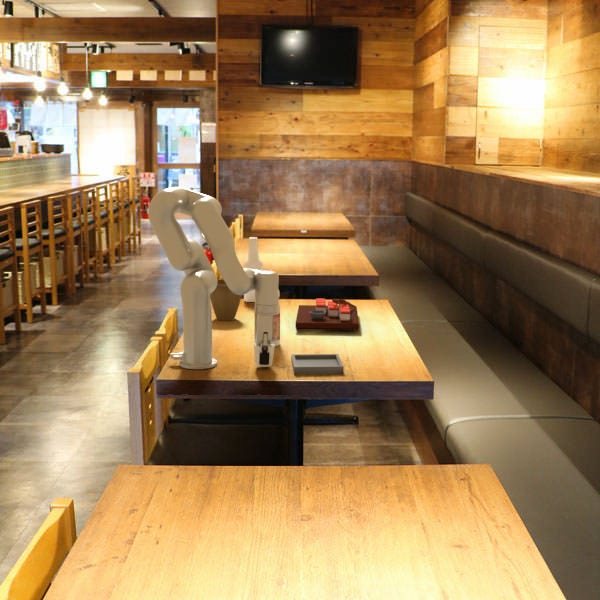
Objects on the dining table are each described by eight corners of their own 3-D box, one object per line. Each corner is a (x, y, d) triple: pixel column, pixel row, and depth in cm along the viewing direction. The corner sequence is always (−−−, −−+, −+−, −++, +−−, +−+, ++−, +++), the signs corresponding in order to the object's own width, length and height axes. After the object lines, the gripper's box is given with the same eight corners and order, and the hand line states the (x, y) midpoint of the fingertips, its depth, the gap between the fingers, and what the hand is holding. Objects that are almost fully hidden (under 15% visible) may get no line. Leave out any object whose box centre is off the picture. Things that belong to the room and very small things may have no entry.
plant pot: (217, 324, 340) (217, 285, 337) (202, 317, 353) (202, 280, 350) (249, 320, 348) (249, 282, 345) (234, 314, 360) (234, 277, 357)
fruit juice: (249, 344, 307) (248, 269, 302) (266, 340, 314) (266, 266, 309) (267, 349, 301) (267, 272, 295) (285, 344, 308) (285, 269, 302)
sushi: (356, 316, 360) (356, 288, 358) (358, 334, 326) (359, 304, 323) (298, 315, 361) (299, 288, 359) (295, 333, 327) (295, 303, 324)
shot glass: (262, 360, 281) (263, 340, 279) (278, 364, 276) (279, 344, 275) (248, 364, 275) (249, 343, 274) (264, 368, 271) (265, 347, 270)
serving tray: (294, 374, 269) (294, 367, 268) (291, 361, 284) (291, 354, 284) (343, 373, 270) (343, 366, 269) (337, 361, 285) (338, 353, 285)
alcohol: (265, 300, 392) (265, 236, 386) (260, 303, 383) (259, 238, 377) (247, 299, 394) (246, 236, 388) (241, 302, 385) (241, 238, 379)
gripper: (254, 302, 280) (252, 354, 284) (254, 314, 263) (252, 368, 267) (276, 303, 281) (274, 355, 284) (278, 314, 264) (276, 369, 268)
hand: (263, 361), depth 276 cm, fingers closed on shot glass, 6 cm apart
